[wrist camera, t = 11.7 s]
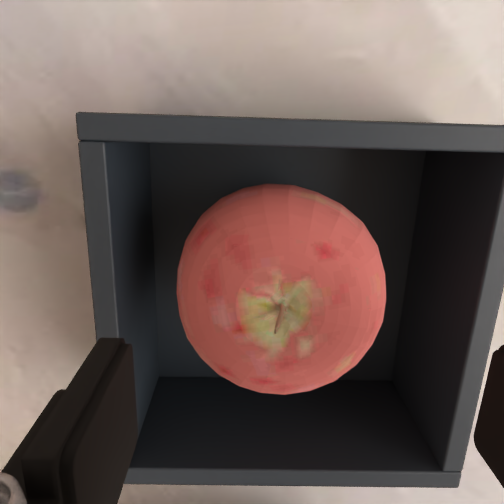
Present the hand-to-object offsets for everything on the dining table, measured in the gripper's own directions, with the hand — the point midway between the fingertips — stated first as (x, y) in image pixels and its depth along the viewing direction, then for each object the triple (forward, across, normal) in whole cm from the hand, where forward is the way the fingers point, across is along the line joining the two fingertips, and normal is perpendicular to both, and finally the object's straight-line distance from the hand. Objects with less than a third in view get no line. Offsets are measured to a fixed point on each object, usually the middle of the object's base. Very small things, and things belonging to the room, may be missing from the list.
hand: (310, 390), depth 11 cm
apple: (+9, 0, 0) cm, 9 cm away
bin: (+10, 0, 0) cm, 10 cm away
